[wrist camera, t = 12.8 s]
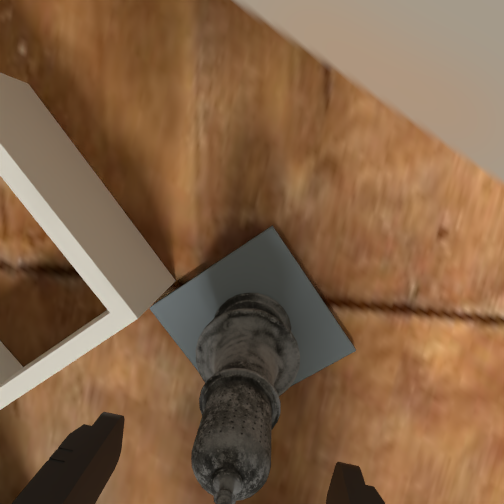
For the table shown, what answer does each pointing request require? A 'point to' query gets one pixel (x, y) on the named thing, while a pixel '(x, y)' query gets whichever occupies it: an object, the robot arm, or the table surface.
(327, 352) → the mat
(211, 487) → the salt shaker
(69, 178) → the frame
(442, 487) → the table surface
